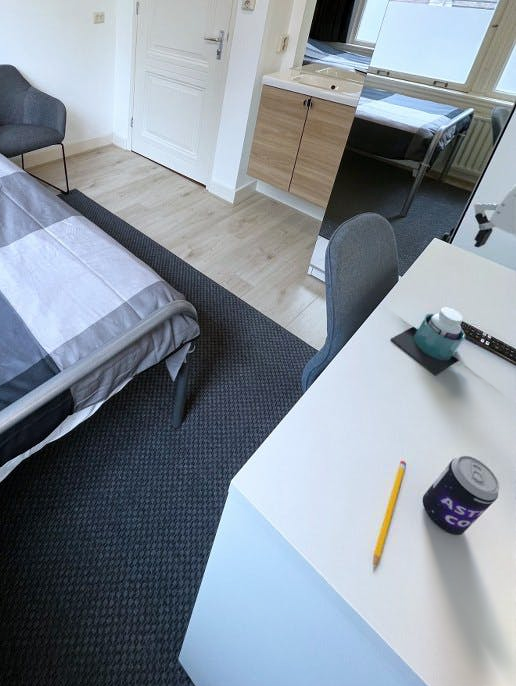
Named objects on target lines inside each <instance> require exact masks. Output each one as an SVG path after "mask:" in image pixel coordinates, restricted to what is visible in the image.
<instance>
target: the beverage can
mask: <svg viewBox="0 0 516 686" xmlns="http://www.w3.org/2000/svg"><path fill="white" fill-rule="evenodd" d="M499 490H500V483H499V479H498V478H497V476H496V475H495V473H494V472H493V471H492V470H491V469H490V468H489V467H488V465H486V464H485V463H484V462H482V461H481V460H479V459H477V458H475V457H472V456H469V455H462V456H459V457H455V458H452V460H451V461H450V462H449V463H448V465H447V466H446V467H445V468H444V469H443V470H442V472H441V473H440V474H439V475H438V477H437V478H436V480H435V481H434V482H433V483H432V485H430V486H429V488H428V489H427V490H426V491H425V493H424V494H423V496H422V506H423V509H424V511H425V513H426V514H427V516H428V517H429V519H430V521H432V522H433V523H434V525H436V526H437V527H438V528H439V529H440V530H442V531H444V532H445V533H448V534H449V535H453V536H461V535H463V534H464V533H465V532H466V531H467V530H468V529H469V528H470V527H471V526H472V525H473V524H474V523H475V522H476V521H477V520H478V519H479V518H480V517H481V515H483V514H484V513H485V512H486V511H487V509H489V508H490V506H491V505H492V504H494V502H496V500H497V499H498V498H499Z"/></svg>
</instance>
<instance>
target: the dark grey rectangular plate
mask: <svg viewBox="0 0 516 686" xmlns="http://www.w3.org/2000/svg"><path fill="white" fill-rule="evenodd" d="M417 329H418V328H417V327H415V326H411V327H410V328H408V329H406V330H404V331H402V332H401V333H399V334H397V335H395V336H393V337H391V338H390V341H391V342H393V343H394V344H395V345H396V346H397V347H399V348H400V349H401V350H402V351H404V352H405V353H406V354H408V355H409V356H410V357H411V358H413V359H414V360H415V361H416V362H417V363H419V364H420V365H422V366H423V367H424V368H425V369H426V370H427V371H429V372H430V373H432V375H434V376H437V375H439V374H440V373H442V372H443V371H445V370H446V369H448V368H450V367H451V366H452V365H454V364H456V363H457V362H459V359H458V358H456V356H454V355H453V357H452V358H451V359H450V360H439V359H436V358H433V357H431V356H429V355H428V354H426V353H425V352H423V351H422V350H421V349H420V348H419V347H418V346H417V345H416V343H415V342H414V338H413V337H414V334H415V332H416V330H417Z"/></svg>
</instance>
